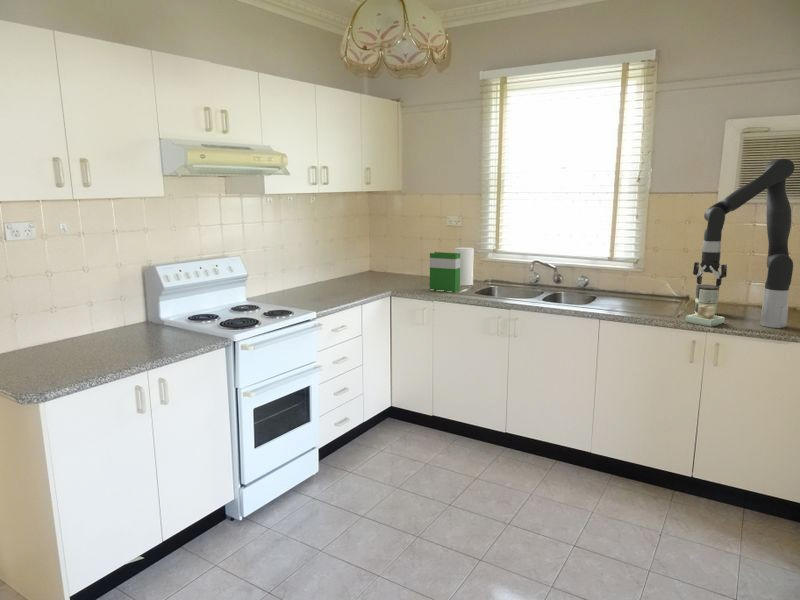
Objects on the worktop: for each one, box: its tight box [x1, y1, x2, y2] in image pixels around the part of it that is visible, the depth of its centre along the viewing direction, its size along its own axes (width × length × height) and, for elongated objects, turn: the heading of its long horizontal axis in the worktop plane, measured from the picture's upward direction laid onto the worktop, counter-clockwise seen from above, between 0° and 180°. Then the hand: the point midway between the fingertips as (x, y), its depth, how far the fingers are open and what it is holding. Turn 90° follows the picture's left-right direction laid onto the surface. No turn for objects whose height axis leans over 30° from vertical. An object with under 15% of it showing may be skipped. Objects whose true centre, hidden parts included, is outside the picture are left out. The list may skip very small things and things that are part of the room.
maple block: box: [698, 305, 715, 320], centre depth 263 cm, size 5×5×7 cm
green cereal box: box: [429, 251, 461, 293], centre depth 351 cm, size 18×7×24 cm, turn 61°
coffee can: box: [693, 284, 720, 316], centre depth 283 cm, size 10×10×14 cm
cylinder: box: [454, 246, 475, 286], centre depth 372 cm, size 12×12×25 cm
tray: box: [684, 313, 726, 328], centre depth 264 cm, size 12×12×3 cm
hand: (708, 285), depth 261 cm, fingers open, 8 cm apart
